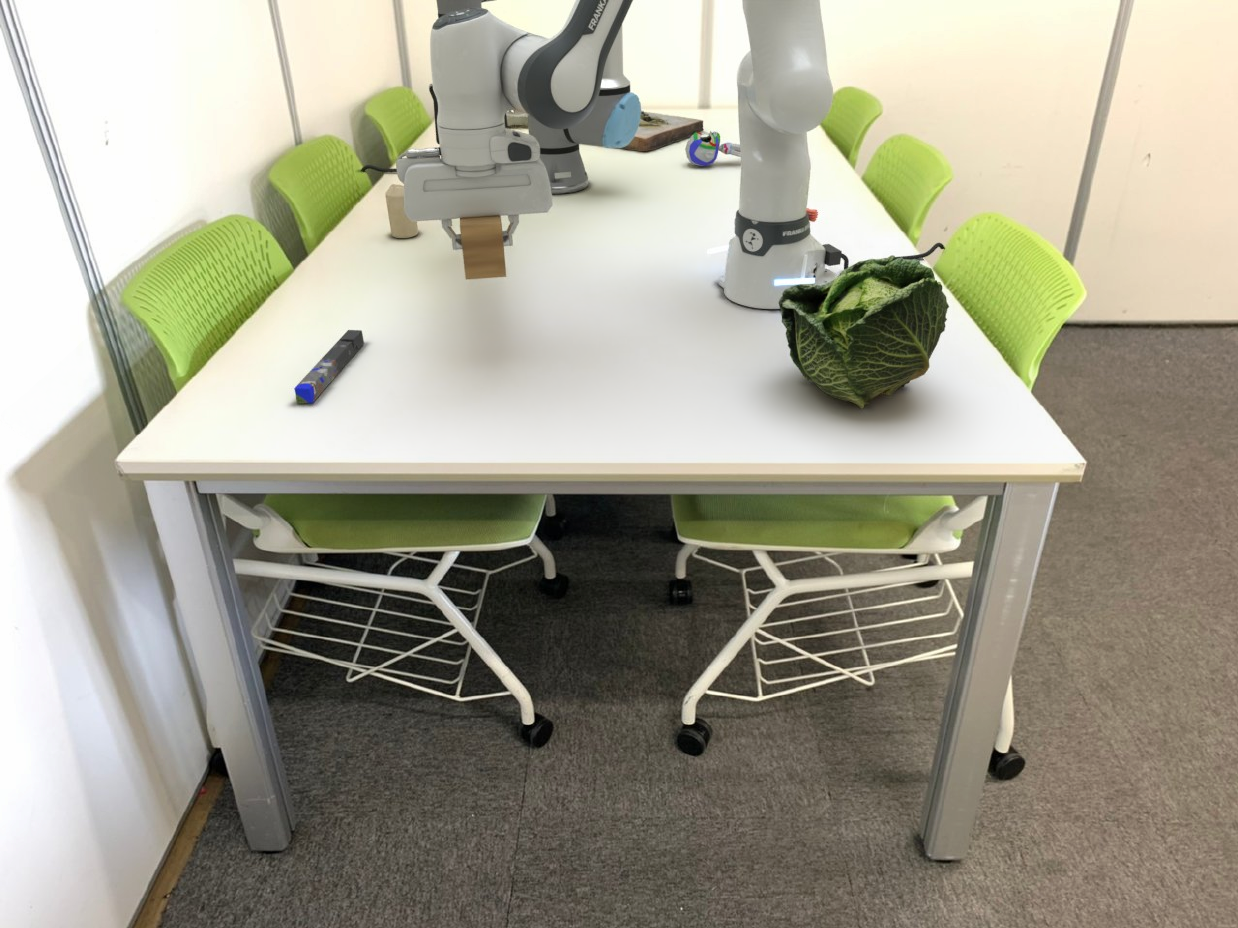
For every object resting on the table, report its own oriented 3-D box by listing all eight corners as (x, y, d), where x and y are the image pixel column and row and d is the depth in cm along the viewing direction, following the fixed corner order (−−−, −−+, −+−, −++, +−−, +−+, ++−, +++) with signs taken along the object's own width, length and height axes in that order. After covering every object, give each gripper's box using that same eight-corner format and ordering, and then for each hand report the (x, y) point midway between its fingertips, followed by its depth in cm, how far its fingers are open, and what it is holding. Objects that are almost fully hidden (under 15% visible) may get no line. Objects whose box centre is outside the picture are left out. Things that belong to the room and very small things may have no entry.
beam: (462, 178, 171) (457, 137, 167) (491, 176, 172) (487, 135, 168) (465, 279, 124) (459, 225, 120) (506, 277, 125) (501, 222, 121)
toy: (809, 146, 225) (693, 132, 220) (801, 180, 229) (687, 167, 224) (798, 137, 233) (686, 124, 229) (791, 170, 238) (681, 158, 233)
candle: (423, 231, 187) (416, 182, 181) (409, 239, 182) (402, 190, 177) (400, 229, 188) (393, 180, 183) (386, 237, 184) (378, 187, 178)
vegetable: (809, 415, 132) (748, 301, 124) (914, 342, 133) (860, 224, 126) (882, 452, 114) (816, 321, 106) (1002, 367, 115) (946, 232, 107)
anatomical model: (468, 90, 276) (547, 88, 273) (472, 121, 281) (549, 120, 278) (454, 100, 264) (536, 98, 260) (458, 132, 269) (539, 131, 265)
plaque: (647, 125, 237) (559, 112, 252) (647, 153, 241) (560, 139, 256) (706, 107, 258) (622, 97, 273) (705, 133, 262) (622, 121, 277)
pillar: (361, 330, 139) (308, 390, 122) (364, 343, 140) (311, 404, 123) (348, 329, 139) (293, 389, 122) (350, 342, 140) (296, 403, 123)
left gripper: (407, 51, 150) (426, 190, 163) (519, 45, 153) (529, 182, 165) (408, 44, 156) (425, 179, 169) (515, 39, 159) (525, 172, 172)
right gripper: (392, 155, 115) (408, 259, 123) (551, 147, 118) (556, 249, 126) (394, 144, 121) (408, 244, 128) (545, 136, 123) (551, 235, 131)
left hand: (477, 180), depth 167 cm, fingers closed on beam, 6 cm apart
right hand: (483, 246), depth 127 cm, fingers closed on beam, 5 cm apart
